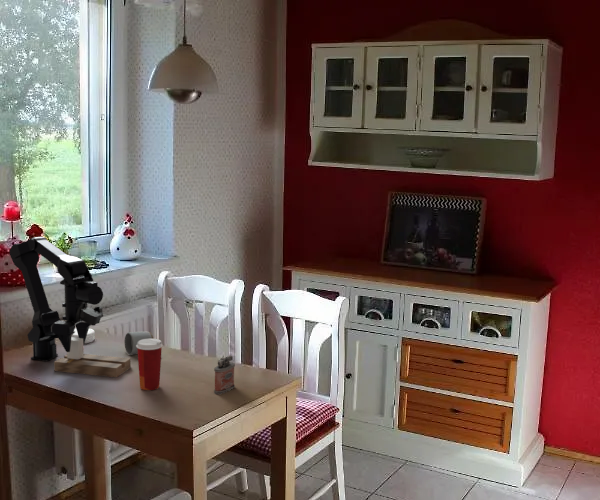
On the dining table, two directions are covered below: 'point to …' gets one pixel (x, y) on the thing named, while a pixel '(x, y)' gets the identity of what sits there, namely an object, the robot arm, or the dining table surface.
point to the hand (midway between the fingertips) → (75, 347)
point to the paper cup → (149, 363)
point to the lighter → (224, 375)
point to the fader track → (94, 365)
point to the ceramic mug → (135, 341)
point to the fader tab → (76, 349)
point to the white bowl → (89, 336)
